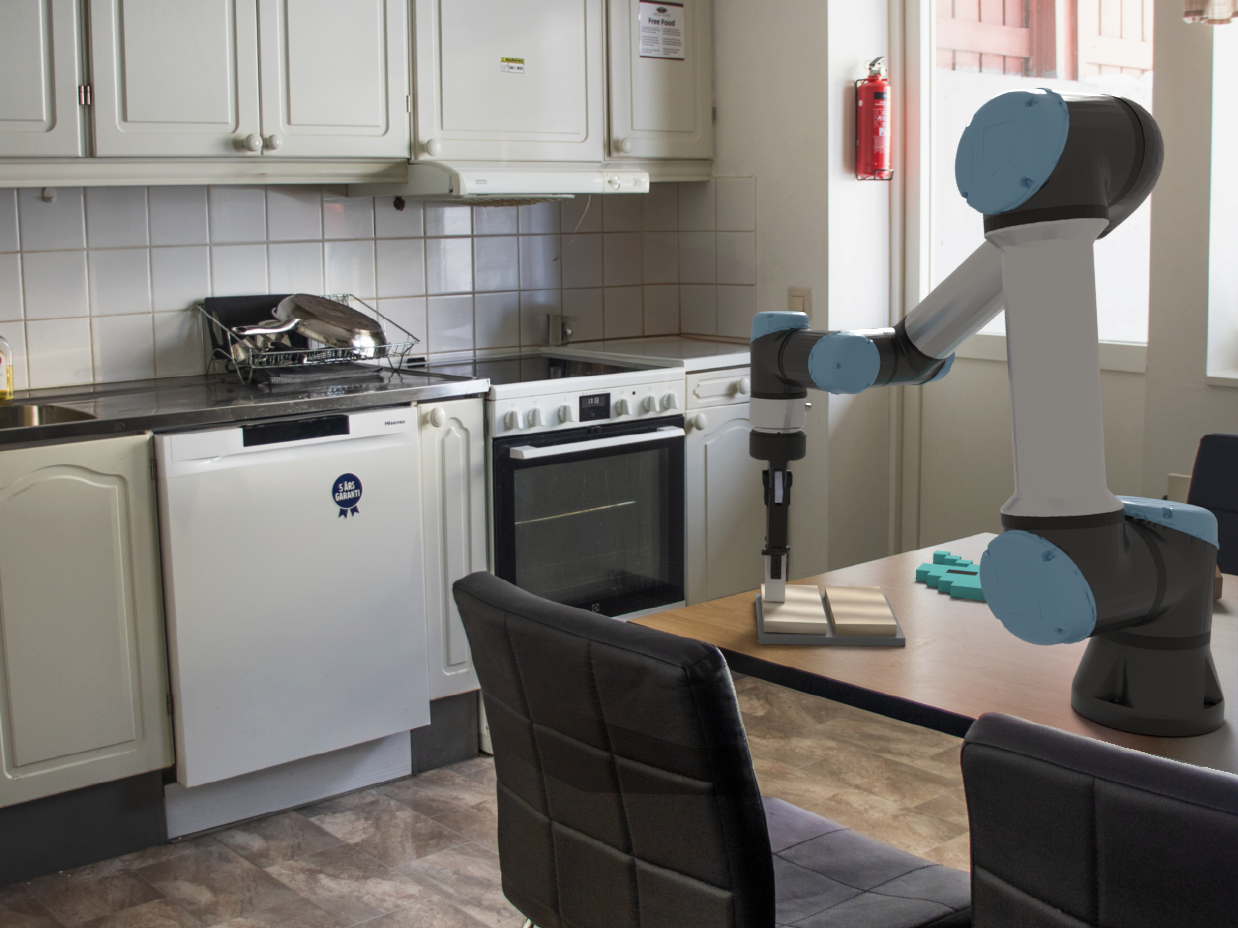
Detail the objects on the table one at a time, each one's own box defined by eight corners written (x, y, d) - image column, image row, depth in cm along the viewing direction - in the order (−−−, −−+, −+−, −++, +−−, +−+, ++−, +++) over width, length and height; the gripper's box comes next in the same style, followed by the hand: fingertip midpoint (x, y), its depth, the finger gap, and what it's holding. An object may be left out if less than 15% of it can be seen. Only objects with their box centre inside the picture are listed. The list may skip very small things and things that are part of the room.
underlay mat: (905, 645, 152) (905, 638, 152) (758, 643, 154) (758, 636, 153) (885, 601, 172) (885, 594, 171) (755, 600, 173) (755, 593, 173)
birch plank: (826, 634, 154) (827, 623, 153) (764, 631, 154) (764, 620, 154) (816, 595, 171) (817, 585, 171) (760, 593, 172) (761, 583, 172)
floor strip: (896, 635, 153) (896, 624, 153) (835, 634, 154) (835, 623, 153) (879, 596, 170) (879, 586, 170) (824, 596, 171) (824, 585, 171)
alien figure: (936, 563, 194) (904, 594, 177) (936, 550, 194) (904, 580, 176) (1066, 576, 185) (1046, 610, 168) (1067, 562, 185) (1047, 595, 167)
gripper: (809, 436, 152) (805, 614, 156) (803, 421, 165) (799, 587, 169) (750, 435, 153) (747, 613, 157) (748, 421, 166) (746, 586, 170)
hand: (774, 599), depth 163 cm, fingers closed
